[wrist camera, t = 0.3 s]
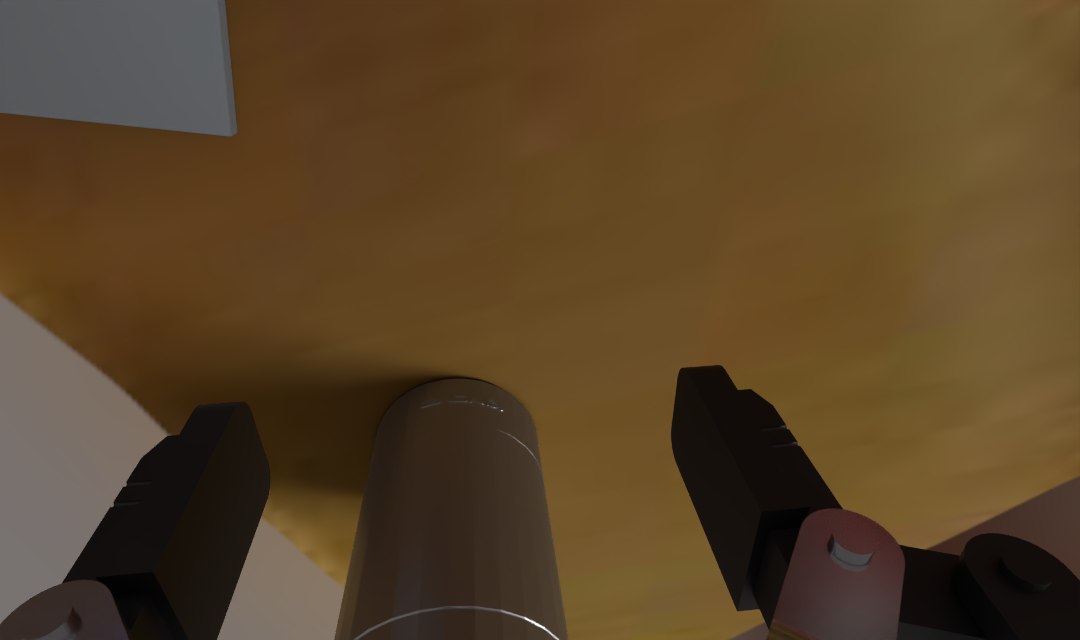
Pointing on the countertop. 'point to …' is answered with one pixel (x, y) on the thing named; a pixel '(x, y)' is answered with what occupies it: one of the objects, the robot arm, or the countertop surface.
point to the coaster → (119, 63)
